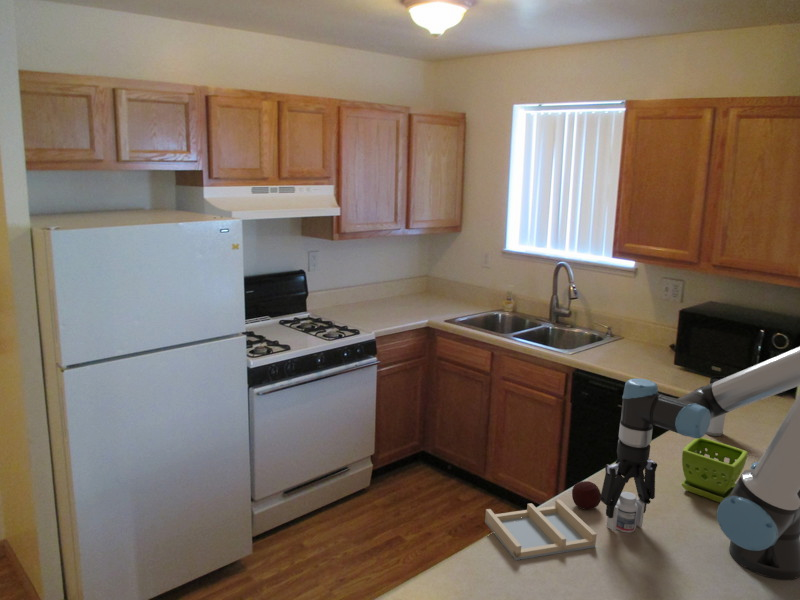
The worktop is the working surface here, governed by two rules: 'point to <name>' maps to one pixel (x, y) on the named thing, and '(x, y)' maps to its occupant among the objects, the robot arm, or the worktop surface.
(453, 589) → the worktop surface
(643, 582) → the worktop surface
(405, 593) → the worktop surface
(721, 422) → the travel mug
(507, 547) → the open tray
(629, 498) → the pill bottle
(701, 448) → the flower pot
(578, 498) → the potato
